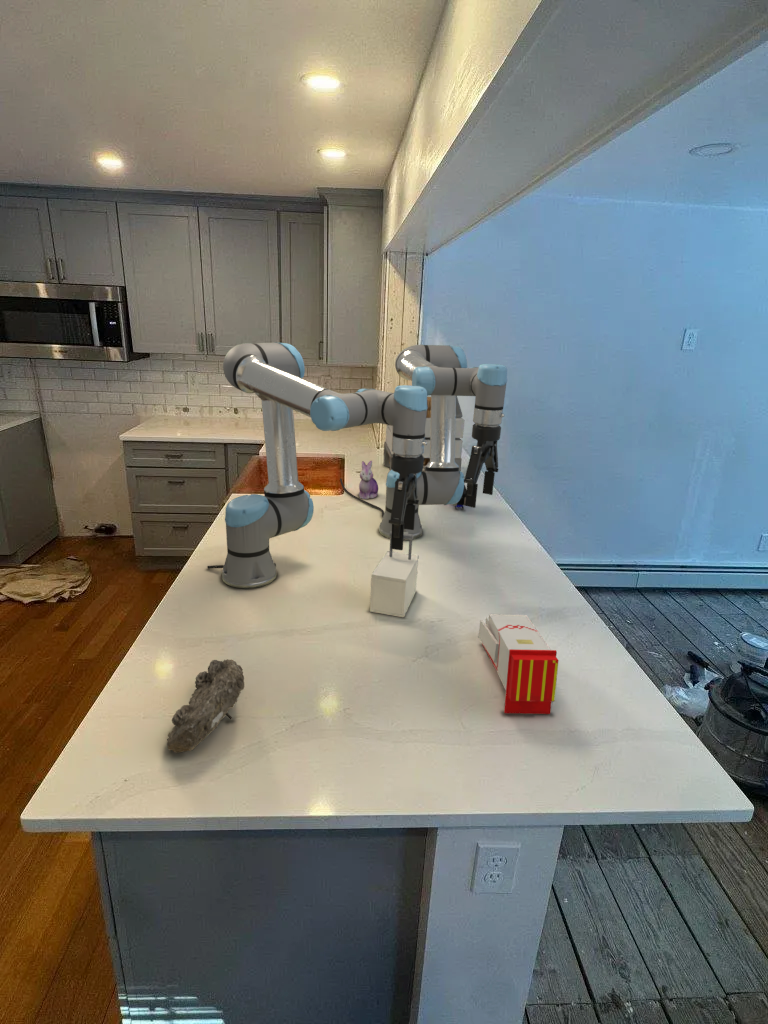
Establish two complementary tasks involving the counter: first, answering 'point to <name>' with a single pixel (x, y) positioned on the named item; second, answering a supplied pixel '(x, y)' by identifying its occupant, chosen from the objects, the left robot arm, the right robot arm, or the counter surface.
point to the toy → (521, 662)
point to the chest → (392, 594)
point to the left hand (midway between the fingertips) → (402, 538)
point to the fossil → (206, 705)
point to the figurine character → (461, 500)
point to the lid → (396, 563)
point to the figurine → (367, 482)
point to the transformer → (458, 434)
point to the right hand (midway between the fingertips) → (479, 500)
